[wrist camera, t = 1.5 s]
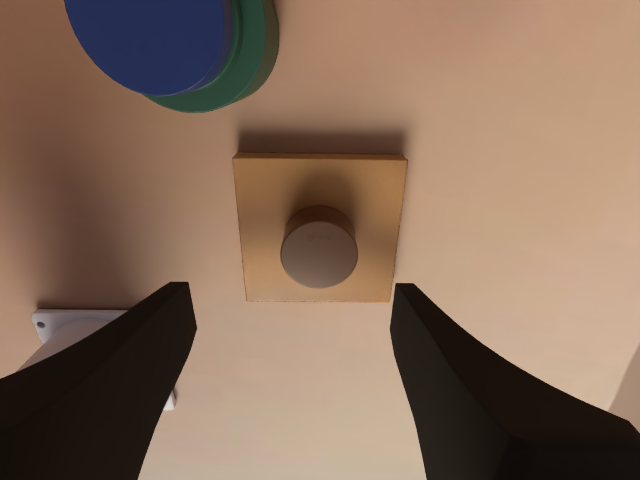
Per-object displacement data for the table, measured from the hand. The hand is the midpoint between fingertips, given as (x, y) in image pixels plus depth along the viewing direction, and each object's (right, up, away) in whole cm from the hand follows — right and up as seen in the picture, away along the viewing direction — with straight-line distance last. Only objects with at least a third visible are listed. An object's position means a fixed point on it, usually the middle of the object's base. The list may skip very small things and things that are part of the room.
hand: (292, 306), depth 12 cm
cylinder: (+1, +2, +8) cm, 8 cm away
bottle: (-4, +12, +4) cm, 13 cm away
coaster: (+1, +3, +9) cm, 9 cm away
